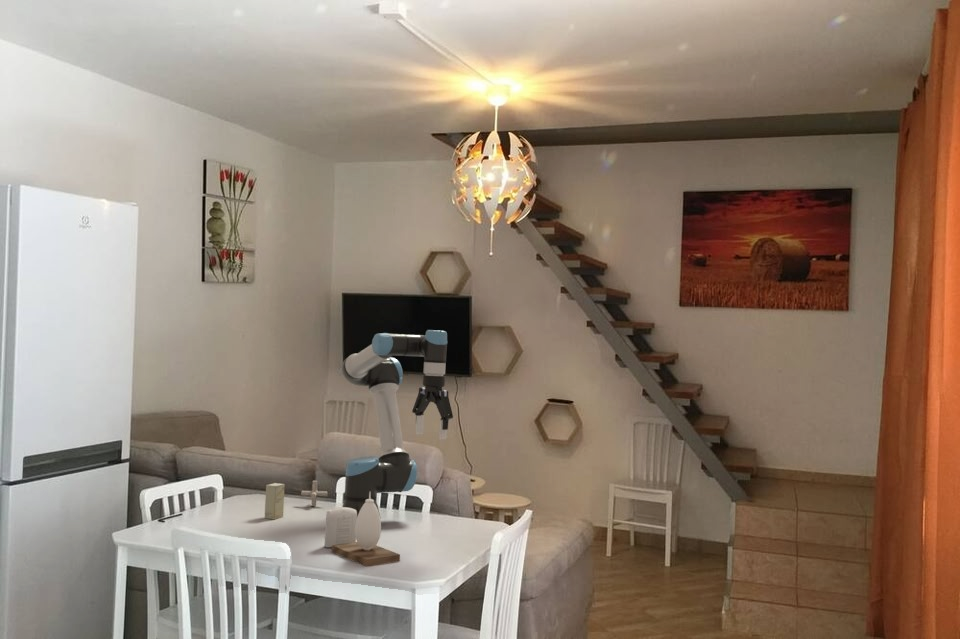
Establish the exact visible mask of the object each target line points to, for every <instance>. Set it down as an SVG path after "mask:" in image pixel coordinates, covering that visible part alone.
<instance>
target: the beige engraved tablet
mask: <svg viewBox="0 0 960 639" xmlns="http://www.w3.org/2000/svg"><path fill="white" fill-rule="evenodd" d="M325 515H326V517H325V531H324V548H329V549H330V548H332V545H337V544H345V543H352V542H357V540H356V535H355V526H356V520H357V511H356V510H355V509H352V508H347V507H342V506H341V507H334V508H331V509H328V510H327V511H326V514H325Z"/></svg>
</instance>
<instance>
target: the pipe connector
mask: <svg viewBox="0 0 960 639" xmlns="http://www.w3.org/2000/svg"><path fill="white" fill-rule="evenodd" d="M311 489H312V490H301V493H300V494H301V496H307V497H308V496H309V497H310V498H311V504H310V505H311V506H316V507H317V497H328V491H326V490H325V491H323V490H321V491H320V490H319V491H318V480H312V488H311Z"/></svg>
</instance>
